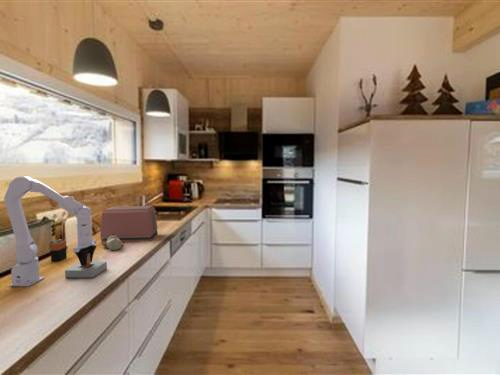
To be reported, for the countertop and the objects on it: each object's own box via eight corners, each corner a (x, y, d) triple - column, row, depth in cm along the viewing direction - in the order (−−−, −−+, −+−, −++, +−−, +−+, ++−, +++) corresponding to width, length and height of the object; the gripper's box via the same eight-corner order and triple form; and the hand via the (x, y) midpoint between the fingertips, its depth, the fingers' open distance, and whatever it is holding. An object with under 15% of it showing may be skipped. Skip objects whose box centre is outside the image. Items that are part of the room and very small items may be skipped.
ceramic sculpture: (104, 237, 173) (101, 233, 185) (105, 252, 173) (101, 248, 185) (125, 234, 178) (120, 231, 191) (125, 249, 178) (120, 245, 191)
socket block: (92, 278, 134) (91, 270, 134) (65, 278, 135) (64, 270, 135) (106, 269, 146) (106, 261, 146) (82, 268, 147) (81, 261, 147)
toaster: (155, 241, 197) (153, 209, 196) (99, 243, 195) (97, 210, 193) (161, 234, 216) (160, 205, 215) (110, 236, 214) (109, 206, 212)
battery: (67, 257, 166) (65, 238, 165) (59, 261, 159) (58, 242, 158) (58, 257, 166) (57, 238, 165) (50, 261, 159) (49, 242, 158)
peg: (87, 272, 138) (86, 255, 138) (80, 272, 139) (79, 254, 138) (92, 270, 142) (91, 252, 141) (85, 269, 142) (84, 252, 142)
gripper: (83, 237, 132) (85, 269, 133) (102, 230, 146) (103, 258, 147) (67, 237, 132) (69, 269, 133) (87, 230, 146) (89, 258, 148)
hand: (86, 263), depth 140 cm, fingers open, 4 cm apart
